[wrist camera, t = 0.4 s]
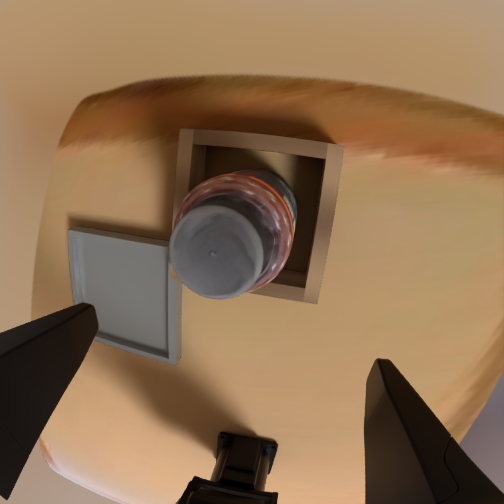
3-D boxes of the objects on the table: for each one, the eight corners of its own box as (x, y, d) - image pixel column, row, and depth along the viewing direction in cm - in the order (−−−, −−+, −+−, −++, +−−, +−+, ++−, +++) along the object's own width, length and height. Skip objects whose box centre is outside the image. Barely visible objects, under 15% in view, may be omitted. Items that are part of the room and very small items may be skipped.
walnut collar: (316, 287, 24) (317, 304, 21) (185, 264, 25) (170, 277, 23) (339, 147, 21) (344, 145, 18) (195, 131, 22) (179, 128, 19)
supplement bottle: (203, 217, 24) (123, 264, 13) (247, 151, 22) (190, 146, 11) (266, 263, 24) (232, 345, 14) (315, 201, 22) (320, 240, 12)
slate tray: (180, 356, 28) (175, 365, 27) (86, 328, 30) (78, 334, 28) (183, 243, 25) (176, 248, 24) (77, 226, 26) (67, 229, 25)
